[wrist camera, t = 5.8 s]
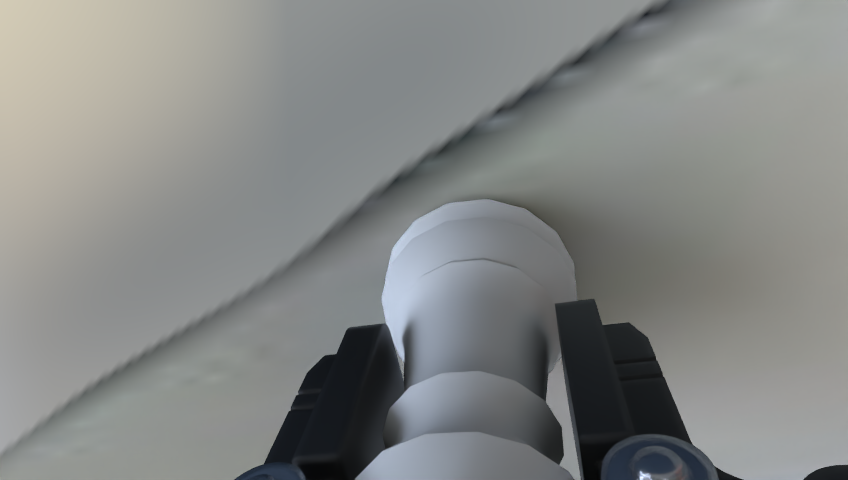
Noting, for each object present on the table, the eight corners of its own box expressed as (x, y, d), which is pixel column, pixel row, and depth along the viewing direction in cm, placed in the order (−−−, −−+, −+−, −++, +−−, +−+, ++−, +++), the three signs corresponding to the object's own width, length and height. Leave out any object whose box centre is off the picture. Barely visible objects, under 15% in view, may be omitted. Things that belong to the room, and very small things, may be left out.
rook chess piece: (517, 381, 15) (538, 749, 8) (361, 310, 15) (234, 628, 8) (611, 243, 13) (751, 559, 6) (436, 158, 13) (363, 387, 6)
